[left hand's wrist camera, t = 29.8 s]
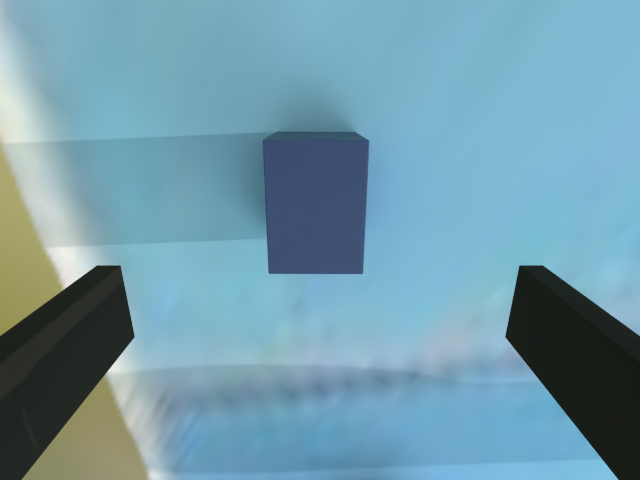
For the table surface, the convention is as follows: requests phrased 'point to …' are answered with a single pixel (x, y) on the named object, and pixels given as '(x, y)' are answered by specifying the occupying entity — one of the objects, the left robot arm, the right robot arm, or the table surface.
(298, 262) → the brick
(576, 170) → the table surface
